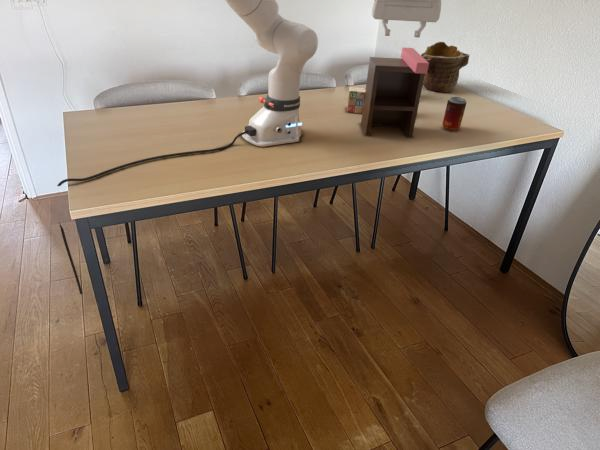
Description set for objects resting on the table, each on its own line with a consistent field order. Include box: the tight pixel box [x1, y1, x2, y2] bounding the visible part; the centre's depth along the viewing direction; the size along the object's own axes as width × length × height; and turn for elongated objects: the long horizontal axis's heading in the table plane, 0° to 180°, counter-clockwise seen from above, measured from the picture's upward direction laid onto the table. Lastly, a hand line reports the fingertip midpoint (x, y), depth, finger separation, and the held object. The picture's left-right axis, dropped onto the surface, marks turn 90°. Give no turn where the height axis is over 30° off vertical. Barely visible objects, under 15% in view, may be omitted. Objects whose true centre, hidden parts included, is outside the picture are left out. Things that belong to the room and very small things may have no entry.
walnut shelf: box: [360, 56, 425, 138], centre depth 168 cm, size 12×18×26 cm, turn 92°
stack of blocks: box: [346, 86, 366, 114], centre depth 189 cm, size 21×6×12 cm, turn 84°
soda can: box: [442, 96, 468, 132], centre depth 177 cm, size 7×7×12 cm
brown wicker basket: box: [420, 41, 470, 93], centre depth 220 cm, size 23×24×25 cm
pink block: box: [400, 47, 429, 74], centre depth 158 cm, size 22×4×4 cm, turn 2°
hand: (401, 36), depth 138 cm, fingers open, 8 cm apart
